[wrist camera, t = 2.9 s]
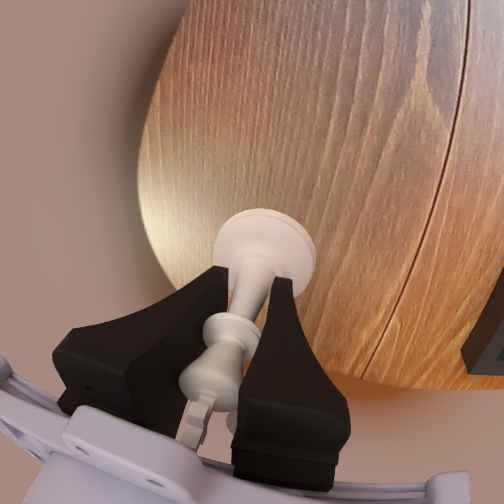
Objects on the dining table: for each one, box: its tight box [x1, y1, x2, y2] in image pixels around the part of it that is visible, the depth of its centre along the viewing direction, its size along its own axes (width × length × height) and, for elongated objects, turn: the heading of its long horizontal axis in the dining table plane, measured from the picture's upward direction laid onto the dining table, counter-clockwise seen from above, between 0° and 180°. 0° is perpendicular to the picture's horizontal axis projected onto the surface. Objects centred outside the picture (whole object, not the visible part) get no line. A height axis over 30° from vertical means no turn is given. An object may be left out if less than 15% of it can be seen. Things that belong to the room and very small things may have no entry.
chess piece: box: [179, 209, 316, 453], centre depth 11 cm, size 5×5×10 cm
